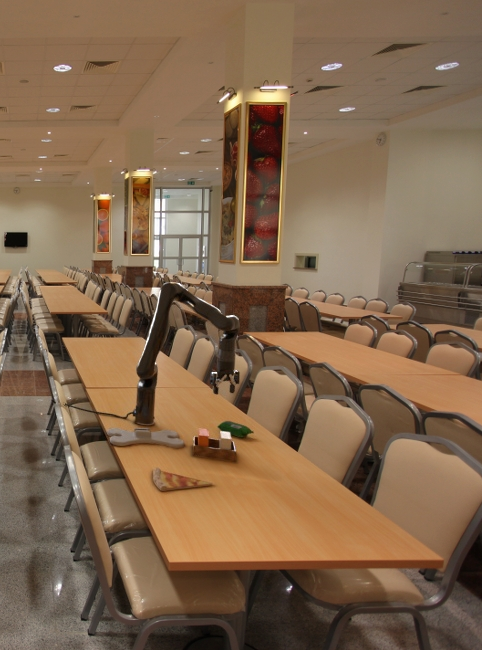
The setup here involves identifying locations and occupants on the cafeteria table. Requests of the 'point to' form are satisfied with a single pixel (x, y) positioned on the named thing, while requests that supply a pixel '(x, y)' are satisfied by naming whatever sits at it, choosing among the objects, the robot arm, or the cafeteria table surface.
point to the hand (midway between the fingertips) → (223, 393)
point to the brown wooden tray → (214, 450)
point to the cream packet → (225, 440)
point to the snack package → (234, 428)
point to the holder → (144, 437)
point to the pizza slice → (175, 481)
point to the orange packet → (203, 437)
